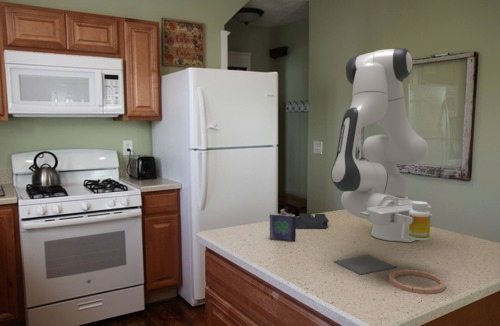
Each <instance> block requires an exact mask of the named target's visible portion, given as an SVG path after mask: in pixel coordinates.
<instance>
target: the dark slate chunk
mask: <svg viewBox="0 0 500 326" xmlns="http://www.w3.org/2000/svg"><path fill="white" fill-rule="evenodd" d="M295 217H296V230H327V229H329V226H328V223H329V218H328V217H327V216H326V214H325V213H314V215H313V214H311V213H299V214H298V216H295Z"/></svg>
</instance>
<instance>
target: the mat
mask: <svg viewBox="0 0 500 326" xmlns="http://www.w3.org/2000/svg"><path fill="white" fill-rule="evenodd" d="M333 263H334V264H337V265H339V266H341V267H342V268H345V269H347V270H349V271H351V272H353V273H355V274H357V275H360V276H362V275H367V274H371V273H376V272H380V271H385V270H389V269H396V268H397V265H394V264H392V263H390V262H387V261H385V260H383V259H380V258H378V257H375V256H373V255H371V254H363V255H358V256H354V257H353V256H351V257H347V258H343V259H337V260H333Z"/></svg>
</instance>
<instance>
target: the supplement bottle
mask: <svg viewBox="0 0 500 326" xmlns="http://www.w3.org/2000/svg"><path fill="white" fill-rule="evenodd" d="M428 205H429V203H428V202H426V201H420V200H413V202H412V208H413V209H411V210H410V211H409V216H412V217H414V218H415V220H414V221H415V223H413V224H408V237H409V238H411V239H415V240H416V241H428V240H430V236H431V235H430V233H431V221H430V212H429V211H428V210H427V209H428ZM429 235H430V236H429Z"/></svg>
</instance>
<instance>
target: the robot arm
mask: <svg viewBox="0 0 500 326" xmlns="http://www.w3.org/2000/svg"><path fill="white" fill-rule="evenodd" d="M412 68H413V58H412V55H411V53H410V51H409V50H408V49H407V48H405V47H394V48H387V49H386V48H385V49H379V50H375V51H372V52H367V53H364V54H361V55H359V54H358V55H355V56H352V57H351V58H349V60H348V61H347V62H346V64H345V76H346V79H347V81H348V82H349V84H350V85H352V99H351V104H350V107H349V108H348V109H347V110H346V111H345V113H344V115H343V118H342V121H341V125H340V130H339V131H340V132H339V138H338V142H337V148H336V154H335V158H334V162H333V165H332V168H331V171H330V178H331V180H332V182H333V184H334V187H335V188H337V190H338V191H340V192H342V194H341V198H340V201H341V205H342V207H343V209H344V210H345V211H346V212H347V213H349V214H351V215H354V216H356V217H357V218H361V219H365V220H366V221H368V222H370V223H373V224H372V225H373V226H372V228H371V234H370V236H372V237H374V238H376V239H380V240H384V241H390V242H391V241H392V242H403V243H412V242H415V241H417V240H415V239H411V238H409V237H408V224H413V223H415V221H414V220H415V218H414V217H412V216H409V211H410V210H411V209H413V208H412V202H413V201H414V200H412V199H409V197H408V194H409V182H408V179H407V178H406V176H405V175H403V174H402V173H400V170H399V169H398V165H402V166H415V165H420V164H423V163H424V162H425V161H426V159H427V158H428V154H429V145H428V143H427V142H426V139H425V138H423V137H422V136H420V135H419V134H418V133H417V131H415V130H414V128H413V127H412V125H411V123H410V121H409V118H408V115H407V108H406V101H405V94H404V91H405V90H404V87H403V82H404V80H405V79H407V78H408V77H409V76H410V75H411V73H412ZM375 123H377V125H378V126H380V127H382V129H384V131H385V132H386V133H387V134H376V135H371V136H368V137H366V139H365V140H364V142H363V145H362V152H363V155H364V157H365V158H366V159H367V160H359V159H357V158H356V151H357V144H358V139H359V133H360V132H361V130H362V129H363V127H366V126H368V125H372V124H375ZM432 209H433V208H432V206H431V205H430V204H428V209H427V210H428V211H429V212H430V222H432V221H433V219H434V218H433V217H434V215H433V214H432V213H433V212H432V211H433V210H432ZM430 236H431V235H429V237H430Z"/></svg>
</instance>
